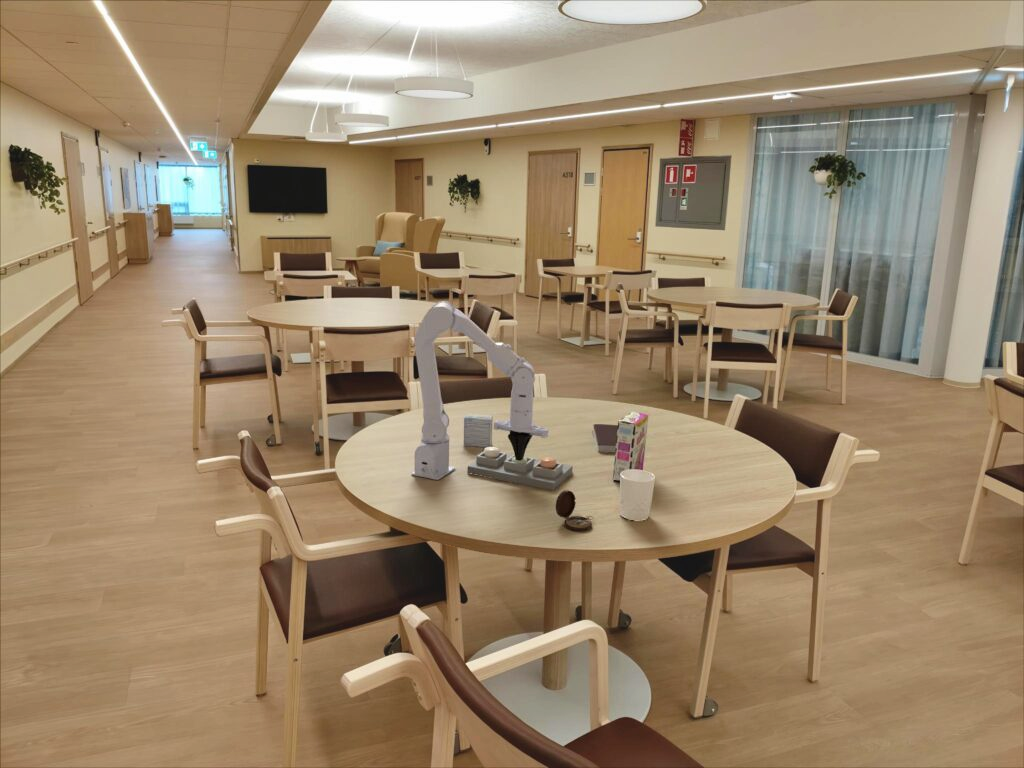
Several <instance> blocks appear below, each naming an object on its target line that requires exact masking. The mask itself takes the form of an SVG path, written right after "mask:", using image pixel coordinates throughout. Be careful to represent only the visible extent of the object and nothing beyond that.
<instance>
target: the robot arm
mask: <svg viewBox="0 0 1024 768" xmlns="http://www.w3.org/2000/svg"><path fill="white" fill-rule="evenodd" d="M450 328H451V330H450ZM449 330H450V331H451V333H459V334H463V335H465V336H466V337H467V338H468V339H470V340H471V341H472V342H474V344H475V345H478V347H480V348H481V349H482V350H483V351H485V352H486V353H487V360H488V361H489V362H490V363H491V364H492V365H494V366H495V367H496V368H497V369H498V370H499V371H501V372H502V373H503V374H504V375H505V376H507V377H510V379H511V382H512V389H511V392H510V410H509V411H510V412H509V413H510V414H509V415H510V417H509V421H505V420H496V421H494V422H493V430H495V431H497V430H499V431H500V430H501V431H507V432H509V434H507V438H508V440H509V442H510V444H511V446H512V450H513V453H514V455H515V459H516V460H519V461H521V460H522V459H523V458H524V457H525V453H526V451H527V448H528V444H529V443H530V441H531V439H532V437H533V436H536V437H540V438H542V439H546V438H548V437H549V429H548V428H544V427H542V426H541V427H540V426H538V425H535V424H533V412H534V411H533V410H534V383H535V382H536V376H535V370H534V367H533V366H532V364H531V363H530V362H529V361H527V360H526V359H525V357H523V356H522V357H520V356H519V355H518V354H517V353H515V351H514V350H512V346H511V345H510V344H509V343H507V344H506V343H504V342H496V341H494V340H493V339H492V338H491V337H490V336H489V335H488V334H486V332H485V331H484V330H483V329H481V328H480V326H478V325H477V324H476V323H475V322H474V321H472V320H471V319H470V317H469V316H467V314H464V312H462V311H461V310H460V309H458V308H455V307H454V305H453V304H451V303H450V302H449V301H438V302H436V303H435V304H434V305H433V306H431V308H430V309H428V310H427V312H426V313H425V315H423V318H422V320H421V323H420V324H419V326H418V328H417V330H416V332H415V333H414V336H413V342H414V348H415V356H416V357H415V358H416V364H417V370H418V377H419V383H420V391H421V398H422V404H423V409H422V411H423V413H422V414H423V415H422V417H423V424H422V427H421V434H422V435H421V440H420V444H419V445H418V446H417V447H416V449H415V451H414V471H412V472H411V475H412V476H416V477H420V478H426V479H431V480H436V481H438V480H440V479H443V478H444V477H445V476H446V475H448V474H450V473H451V472H453V471H454V470H455V469H456V467H455V466H452V465H451V466H450V436H449V434H448V427H449V426H450V425H449V424H450V418H449V416H448V414H447V413H446V411H445V407H444V406H445V405H444V403H443V400H442V394H441V386H440V378H439V372H438V366H437V365H438V364H437V358H436V350H435V341H436V339H437V338H438V337H439V336H440V335H441V334H443V333H446V332H447V331H449Z"/></svg>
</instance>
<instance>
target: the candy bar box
mask: <svg viewBox="0 0 1024 768" xmlns="http://www.w3.org/2000/svg"><path fill="white" fill-rule="evenodd" d="M648 421H649V414H646V413H643V412H642V413H641V412H635V411H631V412H630V413H628V414H627V415H625V416H623V417H622V418H621V419H619V420H618V421H617V425H618V429H617V440H616V451H615V453H614V463H613V473H612V481H613V480H617V481H620V473H621V472H622V471H624V470H629V469H638V470H644V461H645V450H646V442H647V441H646V440H647V433H648V432H647V431H648Z"/></svg>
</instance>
